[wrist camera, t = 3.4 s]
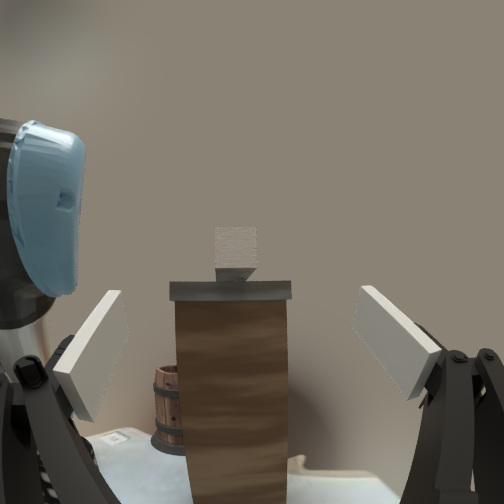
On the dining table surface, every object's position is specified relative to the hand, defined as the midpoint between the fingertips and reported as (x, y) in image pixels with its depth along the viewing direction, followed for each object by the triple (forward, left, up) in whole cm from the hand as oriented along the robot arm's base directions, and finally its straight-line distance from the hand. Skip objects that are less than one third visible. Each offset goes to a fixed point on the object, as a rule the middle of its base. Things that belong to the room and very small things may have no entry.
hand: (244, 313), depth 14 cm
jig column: (-18, +10, -34) cm, 40 cm away
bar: (-18, +10, +3) cm, 21 cm away
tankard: (-46, +14, -34) cm, 59 cm away
